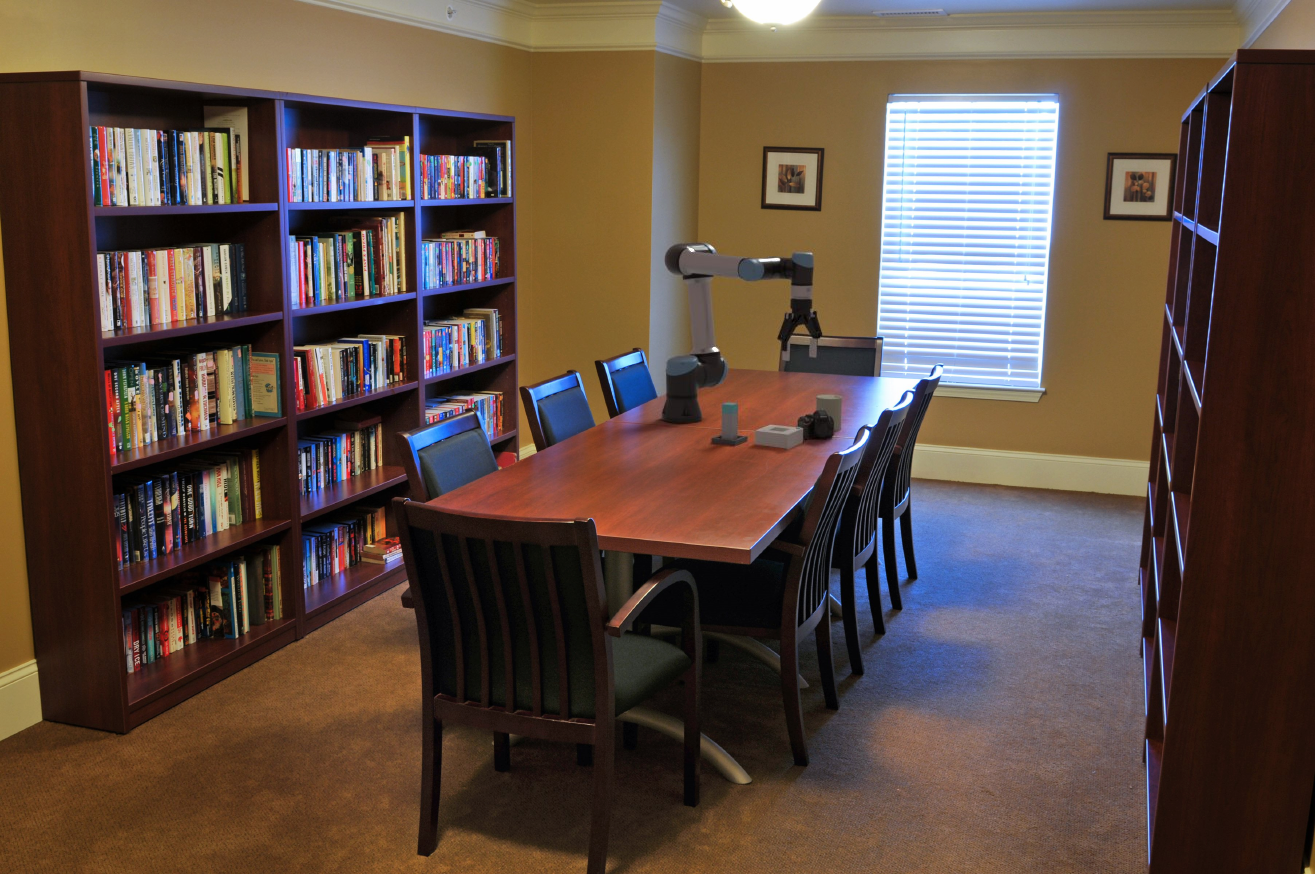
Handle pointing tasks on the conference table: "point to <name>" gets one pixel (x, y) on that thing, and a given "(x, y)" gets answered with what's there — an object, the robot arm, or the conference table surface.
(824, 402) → the can
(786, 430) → the port panel
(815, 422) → the camera
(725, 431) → the plug
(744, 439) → the dark grey square tray
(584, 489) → the conference table surface
